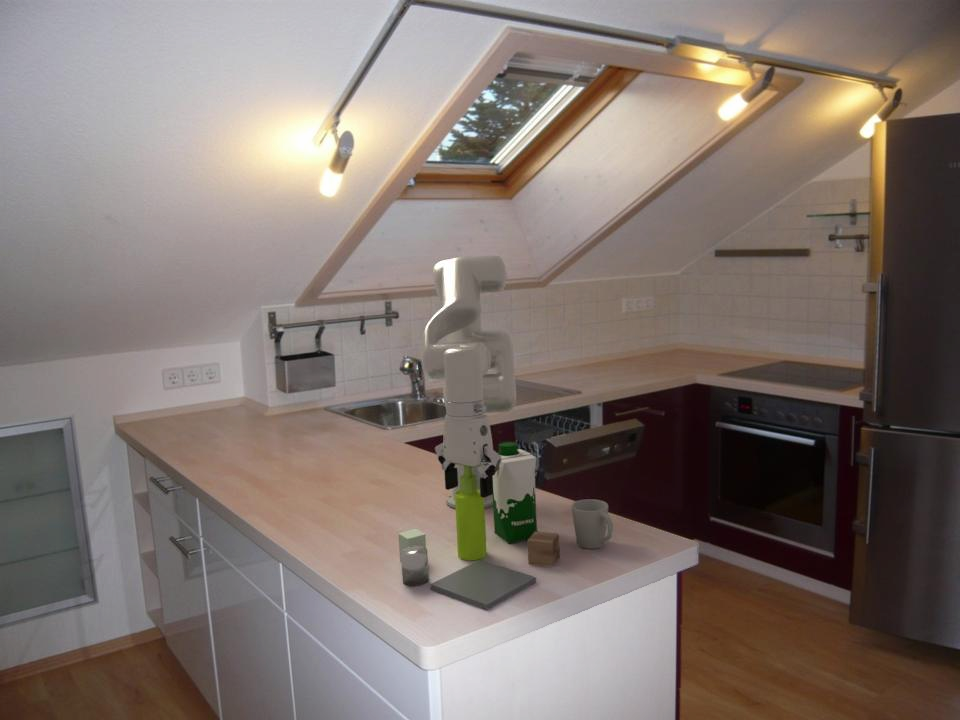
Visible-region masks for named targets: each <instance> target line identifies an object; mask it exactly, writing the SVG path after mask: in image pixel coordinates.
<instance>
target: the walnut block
mask: <svg viewBox="0 0 960 720" xmlns="http://www.w3.org/2000/svg"><path fill="white" fill-rule="evenodd" d="M526 541H527V561H528V565H534V566H544V567H554V566H555V565H556V563H557V562H558V560H559V559H560V555H561V554H560V549H561V548H560V533H555V532H545V531H538V530H537V531H535V532H534V533H533V534H532V536H531V537H530V538H529V539H528V540H526Z"/></svg>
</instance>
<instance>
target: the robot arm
mask: <svg viewBox="0 0 960 720" xmlns="http://www.w3.org/2000/svg"><path fill="white" fill-rule="evenodd" d="M432 277H433V284H434V287H435V288H434V289H435V291H436V294H437V297H438V299H439V301H440V304H441V306H442V307H441V308H440V309H439V310H438V311H437V312H435V314H434V315H433V316H432V317H431V319H429V320H428V322H427V324H426V325H425V328H424V330H423V334H422V337H421V366H422V371H423V373H424V375H425V376H426V377H427V378H429V379H432V380H444V385H443V388H442V390H443V391H442V394H443V396H442V397H443V401H444V406H445V409H446V410H445V413H446V414H445V416H444V422H443V438H442V441H443V442H441V443H440V444H438V445H436V446H435V447H434V450H435V454H436V455H437V460H438V461H439V463H440V465H441V469H442V470H443V471H444V488H445V490H446V491H447V490H448V491H449V490H451V489H452V490H451V491H452V492H451V493H450V494H448V495H447V497H446V499H445V501H446V505H447V506H449V507H451V508H453V509H456V507H455V493H456V492H458V491H461V484H460V477H461V476H463V475H464V466H469V467H472V474H474V475H476V476H477V490H480V495H481V497H483V498H484V509H486V508H490V507H491V506H492V507H493V475H495V472H496V471H497V470H498V469H499V465H500V462H501V460H502V457H501V456H500V455H499V454H498V453H496V450H494V445H493V438H492V437H493V436H492V430H491V425H490V422H489V417H488V415H486V414H503V413H504V414H505V413H509V412H512V411H513V410H514V409H515V407H516V404H517V385H516V383H517V382H516V372H515V371H516V370H515V359H514V358H515V356H514V348H513V347H514V346H513V341H512V338H511V336H510V335H509V333H507V332H506V331H505V330H504V331H503V330H499V329H498V330H497V329H494V330H492V329H491V330H483V329H482V320H481V319H482V318H481V316H482V315H481V312H482V304H481V303H482V300H481V293H482V294H483V293H502V292H503V291H504V290H505V288H506V284H507V268H506V265H505V262H504V260H503V259H502V257H501V256H498V255H472V256H471V255H470V256H468V255H467V256H458V257H453V258H448V259H443V260H440V261H439V262H437V263H435V264H434V267H433V271H432ZM444 337H446V341H447V342H440V343H439V341H440V340H442V339H444ZM489 370H493V371H494V372H495V373H488V372H489ZM463 465H464V466H463Z"/></svg>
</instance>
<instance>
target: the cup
mask: <svg viewBox="0 0 960 720" xmlns="http://www.w3.org/2000/svg"><path fill="white" fill-rule="evenodd" d="M570 506H571V511H572V518H573V519H572V520H573V521H572V522H573V527H574V528H573V529H574V532H575V538H576V539H575V540H576V543H577V545H578V547H580V548H581V549H585V548H586V549H587V550H594V549H595V550H596V549H600V548H602V547H603V546H605V544H606V542H609V540H610V539H611V538H612V535H613V530H614V529H613V528H614V527H613V522H612V521H613V520H612V519H611V517H610V515H609V504H608V503H607V502H606V501H604V500H600V499H587V498H586V499H580V500H576V501H574V502H573V503H572V504H571V505H570Z"/></svg>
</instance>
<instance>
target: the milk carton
mask: <svg viewBox="0 0 960 720" xmlns="http://www.w3.org/2000/svg"><path fill="white" fill-rule="evenodd" d="M495 452H496V451H495ZM496 453H498V454H499V455H500V456H501V457H502V460H501V462H500V465H499V469H498V470H497V471H496V472H495V475H493V505H492V511H493V513H492V514H493V525H494V527H493V528H494V534H495V535H497V536H499V538H501V539H502V541H504V542H506V543H507V544H513V543H519V542H522V541H527V540H528V539H529V538H530V537H531V536H532V534H533V533H534V532H535V531H537V532H538V524H537V523H538V520H537V502H536V501H537V500H536V499H537V498H536V496H537V495H536V476H535V475H536V465H537V456H534V454H533V455H532V453H529V452H527V451H526V450H523V449H521V448H518V443H517V442H515V441H503V442H500V443H499V444H498V452H496Z"/></svg>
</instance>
